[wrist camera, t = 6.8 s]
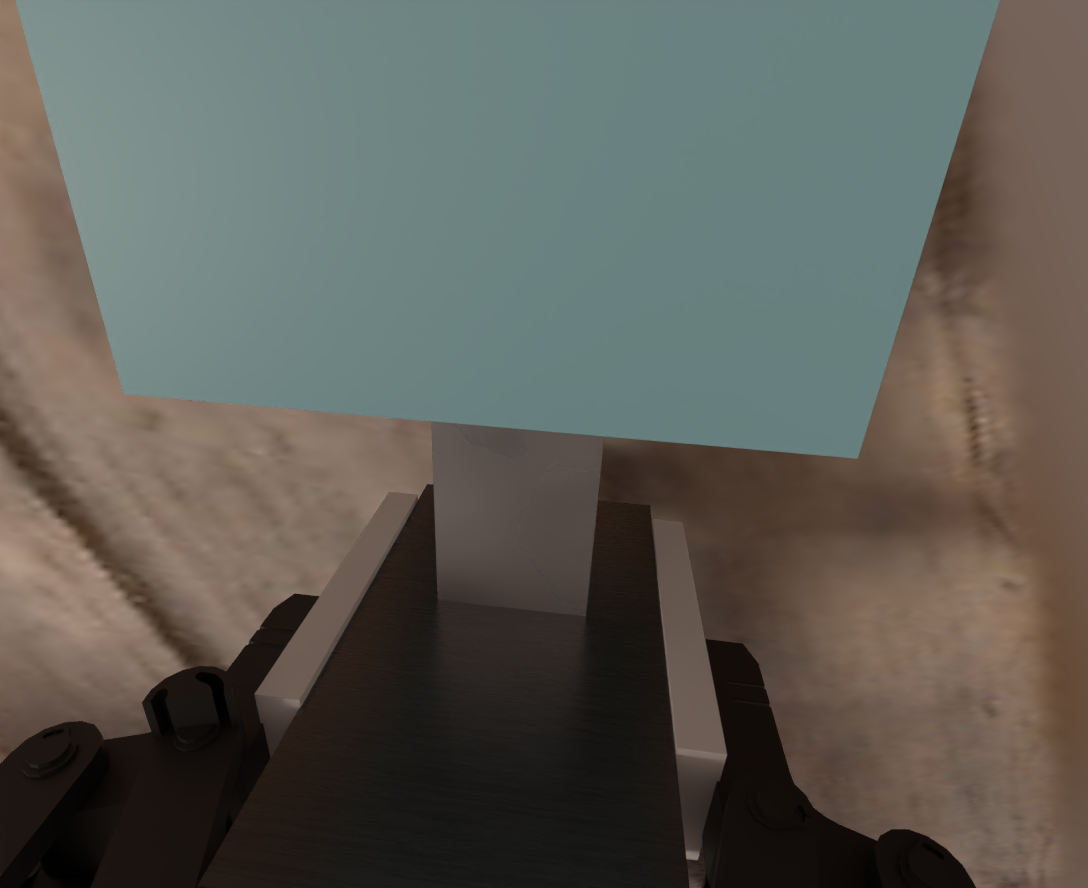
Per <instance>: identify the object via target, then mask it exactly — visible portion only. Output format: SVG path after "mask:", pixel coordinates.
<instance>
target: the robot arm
mask: <svg viewBox="0 0 1088 888" xmlns="http://www.w3.org/2000/svg"><path fill="white" fill-rule="evenodd" d="M417 501H418V495H414V494H404V493H394V492H389V493H388V495H387V496H386V498H385V499H384V501H383V502H382V504H381V505H380V507H379V508H378V510H377V511H376V513H375V514H374V516H373V517H372V519H371V520H370V522H369V523H368V525H367V526H366V528H365V529H364V531H363V532H362V534H361V535H360V537H359V538H358V540H357V541H356V543H355V544H354V546H353V547H352V549H351V550H350V552H349V553H348V555H347V556H346V558H345V559H344V561H343V562H342V564H341V565H340V567H339V568H338V570H337V571H336V573H335V574H334V576H333V577H332V579H331V580H330V582H329V583H328V585H327V586H326V588H325V589H324V591H323V592H322V594H321V595H320V596H311V595H302V594H294V595H292V596H291V597H289V598H288V599H286V600H285V601H284V602H282V603H281V604H279V605H278V606H277V607H275V608H274V609H273V610H272V612H271V613H270V614H269V615H268V617H267V618H266V619H265V621H264V622H263V623H262V625H261V626H260V630H257V631H256V633H255V634H254V635H253V637H252V638H251V639H250V641H249V644H248V645H246V646H245V647H244V649H243V650H242V651H241V653H240V654H239V655H238V657H237V658H236V659H235V661H234V662H233V663H232V665H231V666H230V667H229V669H228V670H227V671H224V670H221V669H219V668H217V667H207V666H199V667H194V668H190V669H186V670H182V671H180V672H178V673H176V674H174V675H172V676H170V677H167V678H165V679H164V680H163V681H162V682H160V683H159V684H158V685H157V686H155V687H154V688H153V689H151V691H150V692H149V694H148V695H147V696H146V698H145V699H144V700H143V702H142V704H143V707H144V710H145V713H146V716H147V719H148V722H149V725H150V728H151V731H152V732H150V733H146V734H140V735H133V736H127V737H120V738H114V739H107V740H104V739H103V737H102V734H101V732H100V731H99V730H98V729H97V727H96V726H95V725H94V724H90V723H86V722H83V721H78V722H67V723H62V724H59V725H56V726H53V727H50V728H47V729H45V730H43V731H41V732H39V733H38V734H36V735H34V736H32V737H30V738H29V739H27V740H26V741H24V742H23V743H22V744H21V745H20V746H19V747H17V748H16V749H15V750H14V751H13V752H12V753H10V754H9V755H8V757H7V758H6V759H5V760H4V761H3V762H2V763H1V764H0V888H198V887H197V886H198V884H199V882H200V881H201V879H202V877H203V875H204V874H205V872H206V870H207V868H208V867H209V865H210V863H211V861H212V860H213V858H214V856H215V854H216V853H217V851H218V849H219V847H220V846H221V844H222V842H223V840H224V839H225V837H226V835H227V833H228V832H229V830H230V828H231V826H232V825H233V823H234V821H235V819H236V818H237V816H238V814H239V812H240V811H241V809H242V807H243V805H244V804H245V802H246V800H247V798H248V797H249V795H250V793H251V791H252V790H253V788H254V786H255V784H256V783H257V781H258V779H259V777H260V776H261V774H262V772H263V771H264V769H265V767H266V765H267V764H268V762H269V760H270V758H271V757H272V755H273V753H274V751H275V750H276V748H277V746H278V744H279V743H280V741H281V739H282V737H283V736H284V734H285V732H286V730H287V729H288V727H289V725H290V723H291V722H292V720H293V718H294V716H295V715H296V713H297V711H298V709H299V708H300V707H301V706H302V704H303V703H304V701H305V699H306V697H307V696H308V694H309V692H310V690H311V688H312V687H313V685H314V683H315V681H316V680H317V678H318V676H319V674H320V673H321V671H322V669H323V667H324V666H325V664H326V662H327V660H328V658H329V657H330V655H331V653H332V651H333V650H334V648H335V646H336V644H337V643H338V641H339V639H340V637H341V636H342V634H343V632H344V630H345V628H346V627H347V625H348V623H349V621H350V620H351V618H352V616H353V614H354V613H355V611H356V609H357V607H358V606H359V604H360V602H361V600H362V598H363V597H364V595H365V593H366V591H367V590H368V588H369V586H370V584H371V583H372V581H373V579H374V577H375V575H376V574H377V572H378V570H379V568H380V567H381V565H382V563H383V561H384V560H385V558H386V556H387V554H388V553H389V551H390V549H391V547H392V545H393V544H394V542H395V540H396V538H397V537H398V535H399V533H400V531H401V530H402V528H403V526H404V524H405V523H406V521H407V519H408V517H409V515H410V514H411V512H412V510H413V508H414V507H415V505H416V503H417ZM652 532H653V542H654V551H655V561H656V570H657V580H658V589H659V599H660V609H661V618H662V628H663V638H664V647H665V657H666V667H667V676H668V686H669V695H670V705H671V715H672V724H673V734H674V744H675V753H676V763H677V773H678V782H679V792H680V801H681V811H682V821H683V830H684V840H685V850H686V859H691V860H698V858H699V854H700V850H701V847H702V843H703V849H704V857H705V865H706V875H705V878H704V882H703V885H702V888H976V887H975V885H974V883H973V881H972V880H971V878H970V877H969V875H968V873H967V872H966V870H965V868H964V867H963V865H962V864H961V863H960V862H959V861H958V860H957V859H956V858H955V857H954V856H953V855H952V854H951V853H950V852H949V851H948V850H947V849H946V848H944V847H943V846H941V845H940V844H938V843H937V842H935V841H934V840H932V839H930V838H929V837H927V836H925V835H922V834H919V833H917V832H914V831H911V830H905V829H892V830H890V831H888V832H886V833H884V834H883V835H881V836H880V837H879V839H878V841H876V840H874V839H871V838H869V837H867V836H864V835H862V834H860V833H858V832H855V831H853V830H851V829H848V828H846V827H844V826H841V825H839V824H837V823H836V822H834V821H832V820H830V819H828V818H826V817H825V816H823V815H822V814H821V813H820V812H818V811H817V810H816V809H814V808H813V807H812V805H811V803H810V802H809V800H808V798H807V796H806V795H805V794H804V793H803V792H802V791H801V790H800V789H799V788H798V787H797V786H796V785H795V784H794V782H793V780H792V777H791V775H790V772H789V768H788V765H787V762H786V758H785V755H784V751H783V748H782V744H781V741H780V737H779V734H778V730H777V727H776V723H775V720H774V716H773V713H772V710H771V707H770V706H769V699H768V696H767V692H766V689H764V682H763V678H762V675H761V671H760V668H759V664H758V663H757V661H756V660H755V659H754V657H753V656H752V655H751V654H750V652H749V651H748V650H747V648H746V647H745V646H744V645H743V644H742V643H733V642H724V641H716V640H707V639H705V637H704V631H703V626H702V621H701V616H700V611H699V605H698V600H697V595H696V590H695V585H694V579H693V574H692V569H691V564H690V558H689V553H688V548H687V543H686V538H685V532H684V527H683V522H680V521H670V520H660V519H652Z"/></svg>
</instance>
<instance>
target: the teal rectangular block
mask: <svg viewBox="0 0 1088 888" xmlns="http://www.w3.org/2000/svg"><path fill="white" fill-rule="evenodd" d="M15 1H16V4H17V8H18V12H19V15H20V19H21V23H22V26H23V30H24V34H25V37H26V41H27V44H28V48H29V52H30V55H31V59H32V63H33V66H34V70H35V74H36V77H37V81H38V85H39V88H40V92H41V95H42V99H43V103H44V106H45V110H46V114H47V117H48V121H49V125H50V128H51V132H52V136H53V139H54V143H55V147H56V150H57V154H58V157H59V161H60V165H61V168H62V172H63V176H64V179H65V183H66V187H67V190H68V194H69V198H70V201H71V205H72V208H73V212H74V216H75V219H76V223H77V227H78V230H79V234H80V238H81V241H82V245H83V249H84V252H85V256H86V259H87V263H88V267H89V270H90V274H91V278H92V281H93V285H94V289H95V292H96V296H97V300H98V303H99V307H100V310H101V314H102V318H103V321H104V325H105V329H106V332H107V336H108V340H109V343H110V347H111V351H112V354H113V358H114V362H115V365H116V369H117V372H118V376H119V380H120V383H121V387H122V391H123V394H128V395H139V396H151V397H162V398H173V399H185V400H196V401H208V402H219V403H230V404H242V405H253V406H264V407H276V408H287V409H299V410H310V411H321V412H333V413H344V414H355V415H367V416H378V417H389V418H401V419H412V420H424V421H435V422H446V423H458V424H469V425H480V426H492V427H503V428H514V429H526V430H537V431H549V432H560V433H571V434H583V435H594V436H605V437H617V438H628V439H640V440H651V441H662V442H674V443H685V444H696V445H708V446H719V447H730V448H742V449H753V450H765V451H776V452H787V453H799V454H810V455H821V456H833V457H844V458H855V459H858V456H859V453H860V450H861V446H862V443H863V440H864V437H865V433H866V430H867V427H868V424H869V421H870V417H871V414H872V411H873V408H874V404H875V401H876V398H877V395H878V392H879V388H880V385H881V382H882V379H883V376H884V372H885V369H886V366H887V363H888V359H889V356H890V353H891V350H892V347H893V343H894V340H895V337H896V334H897V330H898V327H899V324H900V321H901V318H902V314H903V311H904V308H905V305H906V301H907V298H908V295H909V292H910V289H911V285H912V282H913V279H914V276H915V273H916V269H917V266H918V263H919V260H920V256H921V253H922V250H923V247H924V244H925V240H926V237H927V234H928V231H929V227H930V224H931V221H932V218H933V215H934V211H935V208H936V205H937V202H938V199H939V195H940V192H941V189H942V186H943V182H944V179H945V176H946V173H947V170H948V166H949V163H950V160H951V157H952V153H953V150H954V147H955V144H956V141H957V137H958V134H959V131H960V128H961V125H962V121H963V118H964V115H965V112H966V108H967V105H968V102H969V99H970V96H971V92H972V89H973V86H974V83H975V79H976V76H977V73H978V70H979V67H980V63H981V60H982V57H983V54H984V51H985V47H986V44H987V41H988V38H989V34H990V31H991V28H992V25H993V22H994V18H995V15H996V12H997V9H998V5H999V2H1000V0H15Z"/></svg>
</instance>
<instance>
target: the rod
mask: <svg viewBox="0 0 1088 888" xmlns="http://www.w3.org/2000/svg"><path fill="white" fill-rule="evenodd" d="M431 429H432V457H433V484H434V485H431V484H427V486H426V487H425V489H424V491H423V493H422V494H421V496H420V498H419V500H418V501H417V503H416V505H415V507H414V508H413V510H412V512H411V514H410V515H409V517H408V519H407V521H406V523H405V524H404V526H403V528H402V530H401V531H400V533H399V535H398V537H397V538H396V540H395V542H394V544H393V545H392V547H391V549H390V551H389V553H388V554H387V556H386V558H385V560H384V561H383V563H382V565H381V567H380V568H379V570H378V572H377V574H376V575H375V577H374V579H373V581H372V583H371V584H370V586H369V588H368V590H367V591H366V593H365V595H364V597H363V598H362V600H361V602H360V604H359V606H358V607H357V609H356V611H355V613H354V614H353V616H352V618H351V620H350V621H349V623H348V625H347V627H346V628H345V630H344V632H343V634H342V636H341V637H340V639H339V641H338V643H337V644H336V646H335V648H334V650H333V651H332V653H331V655H330V657H329V658H328V660H327V662H326V664H325V666H324V667H323V669H322V671H321V673H320V674H319V676H318V678H317V680H316V681H315V683H314V685H313V687H312V688H311V690H310V692H309V694H308V696H307V697H306V699H305V701H304V703H303V704H302V706H301V707H300V708H299V709H298V711H297V713H296V715H295V716H294V718H293V720H292V722H291V723H290V725H289V727H288V729H287V730H286V732H285V734H284V736H283V737H282V739H281V741H280V743H279V744H278V746H277V748H276V750H275V751H274V753H273V755H272V757H271V758H270V760H269V762H268V764H267V765H266V767H265V769H264V771H263V772H262V774H261V776H260V777H259V779H258V781H257V783H256V784H255V786H254V788H253V790H252V791H251V793H250V795H249V797H248V798H247V800H246V802H245V804H244V805H243V807H242V809H241V811H240V812H239V814H238V816H237V818H236V819H235V821H234V823H233V825H232V826H231V828H230V830H229V832H228V833H227V835H226V837H225V839H224V840H223V842H222V844H221V846H220V847H219V849H218V851H217V853H216V854H215V856H214V858H213V860H212V861H211V863H210V865H209V867H208V868H207V870H206V872H205V874H204V875H203V877H202V879H201V881H200V882H199V884H198V886H197V887H198V888H689V879H688V869H687V859H686V850H685V840H684V830H683V821H682V811H681V801H680V792H679V782H678V773H677V763H676V753H675V744H674V734H673V724H672V715H671V705H670V695H669V686H668V676H667V667H666V657H665V647H664V638H663V628H662V618H661V609H660V599H659V589H658V580H657V570H656V561H655V551H654V542H653V532H652V522H651V512H650V505H639V504H629V503H618V502H608V501H598V493H599V484H600V474H601V464H602V454H603V444H604V436H594V435H583V434H571V433H560V432H549V431H537V430H526V429H514V428H503V427H492V426H480V425H469V424H458V423H446V422H435V421H431Z"/></svg>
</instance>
